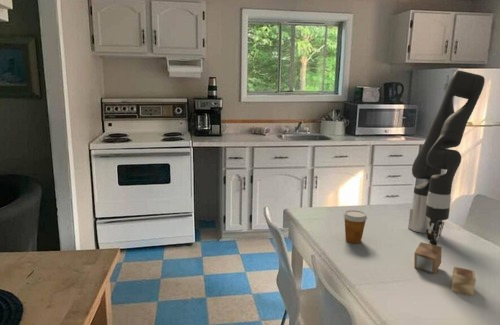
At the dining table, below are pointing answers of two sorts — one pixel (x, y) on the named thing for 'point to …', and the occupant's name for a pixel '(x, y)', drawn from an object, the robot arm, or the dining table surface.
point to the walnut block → (427, 257)
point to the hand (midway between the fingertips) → (432, 249)
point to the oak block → (463, 281)
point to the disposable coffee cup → (354, 225)
